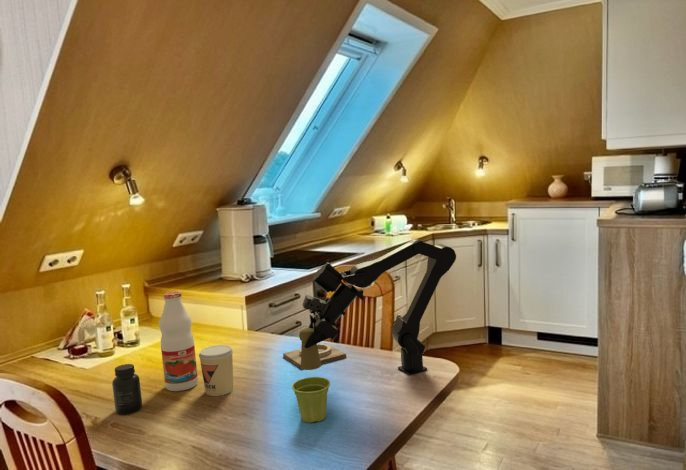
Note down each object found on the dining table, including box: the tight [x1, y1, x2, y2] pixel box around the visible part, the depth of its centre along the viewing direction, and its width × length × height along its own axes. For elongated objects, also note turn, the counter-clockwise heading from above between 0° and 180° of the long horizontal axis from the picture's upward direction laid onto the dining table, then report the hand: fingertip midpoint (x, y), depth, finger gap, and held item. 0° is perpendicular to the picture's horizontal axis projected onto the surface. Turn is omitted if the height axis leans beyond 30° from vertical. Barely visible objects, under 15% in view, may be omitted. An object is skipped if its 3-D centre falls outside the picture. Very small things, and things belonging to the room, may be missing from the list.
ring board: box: [282, 342, 347, 369], centre depth 180 cm, size 14×16×2 cm
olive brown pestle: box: [298, 327, 322, 371], centre depth 157 cm, size 6×6×11 cm
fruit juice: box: [158, 290, 199, 392], centre depth 161 cm, size 9×9×28 cm
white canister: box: [198, 344, 234, 397], centre depth 157 cm, size 9×9×12 cm
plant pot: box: [291, 376, 331, 424], centre depth 136 cm, size 9×9×9 cm
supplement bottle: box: [111, 363, 143, 416], centre depth 147 cm, size 7×7×12 cm
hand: (304, 344), depth 157 cm, fingers closed on olive brown pestle, 5 cm apart
